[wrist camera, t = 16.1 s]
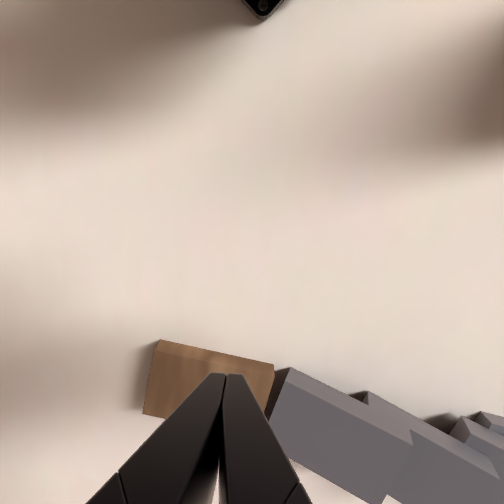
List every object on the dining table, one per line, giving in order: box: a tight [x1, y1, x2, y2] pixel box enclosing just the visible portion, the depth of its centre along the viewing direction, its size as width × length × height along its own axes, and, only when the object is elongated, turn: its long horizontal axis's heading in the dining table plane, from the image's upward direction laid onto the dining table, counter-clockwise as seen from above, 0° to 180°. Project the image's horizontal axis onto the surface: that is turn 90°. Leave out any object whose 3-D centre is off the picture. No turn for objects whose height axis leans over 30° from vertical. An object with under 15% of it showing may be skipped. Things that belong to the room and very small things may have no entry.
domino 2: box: [269, 368, 413, 504], centre depth 20 cm, size 2×5×8 cm
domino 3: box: [362, 391, 500, 504], centre depth 21 cm, size 2×5×8 cm
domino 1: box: [142, 340, 275, 419], centre depth 22 cm, size 2×5×8 cm
